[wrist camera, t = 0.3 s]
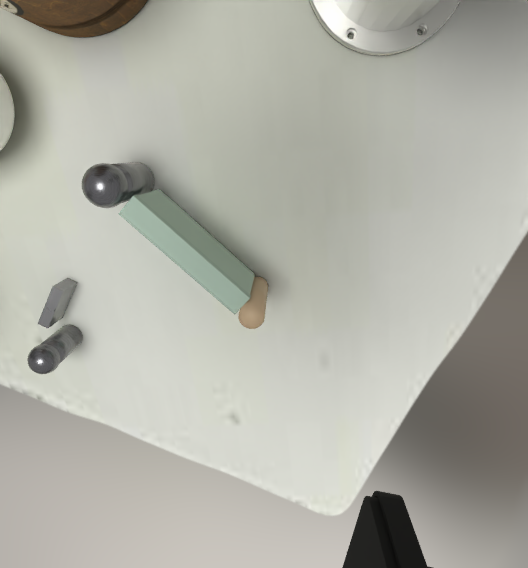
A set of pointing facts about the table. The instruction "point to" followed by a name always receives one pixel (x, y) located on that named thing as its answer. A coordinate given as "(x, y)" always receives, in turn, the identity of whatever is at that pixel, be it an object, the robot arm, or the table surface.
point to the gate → (199, 255)
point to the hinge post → (116, 183)
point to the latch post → (61, 341)
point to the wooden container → (75, 14)
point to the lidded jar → (5, 113)
